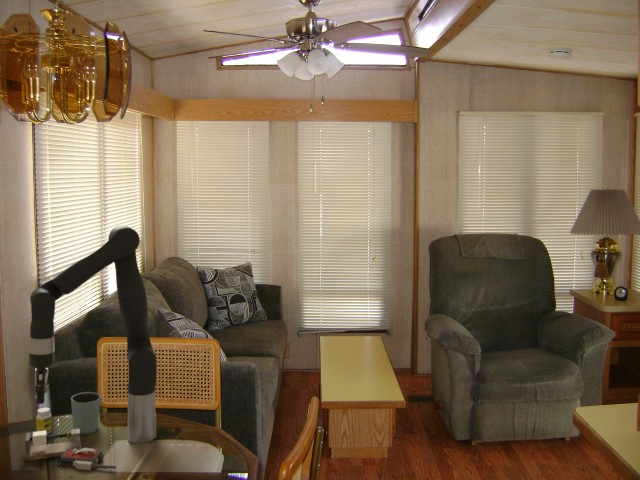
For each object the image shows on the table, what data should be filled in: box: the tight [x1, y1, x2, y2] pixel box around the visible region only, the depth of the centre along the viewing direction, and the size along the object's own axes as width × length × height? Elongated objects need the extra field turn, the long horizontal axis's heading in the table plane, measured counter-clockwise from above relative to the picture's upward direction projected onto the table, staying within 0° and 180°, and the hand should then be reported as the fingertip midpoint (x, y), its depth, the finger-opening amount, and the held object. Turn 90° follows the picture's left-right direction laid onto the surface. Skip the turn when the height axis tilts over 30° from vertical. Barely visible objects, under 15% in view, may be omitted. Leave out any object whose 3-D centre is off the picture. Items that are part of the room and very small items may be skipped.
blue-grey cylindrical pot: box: [70, 391, 102, 435], centre depth 225 cm, size 10×10×12 cm
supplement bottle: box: [35, 407, 52, 435], centre depth 221 cm, size 5×5×8 cm
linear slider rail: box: [23, 428, 82, 462], centre depth 207 cm, size 17×7×7 cm, turn 111°
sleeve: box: [32, 430, 48, 446], centre depth 205 cm, size 4×3×3 cm
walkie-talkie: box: [56, 447, 117, 471], centre depth 201 cm, size 9×4×20 cm
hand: (41, 398), depth 204 cm, fingers open, 8 cm apart
